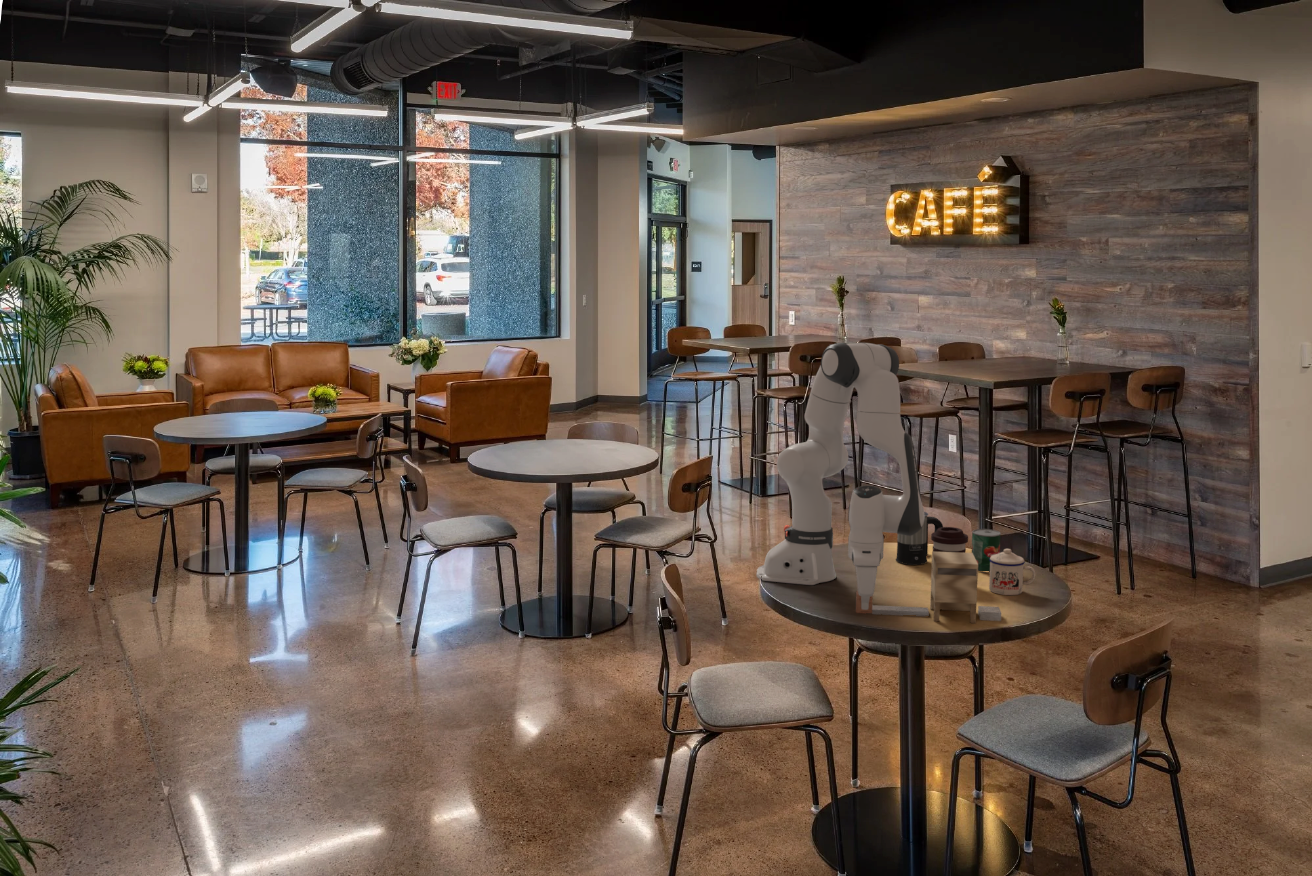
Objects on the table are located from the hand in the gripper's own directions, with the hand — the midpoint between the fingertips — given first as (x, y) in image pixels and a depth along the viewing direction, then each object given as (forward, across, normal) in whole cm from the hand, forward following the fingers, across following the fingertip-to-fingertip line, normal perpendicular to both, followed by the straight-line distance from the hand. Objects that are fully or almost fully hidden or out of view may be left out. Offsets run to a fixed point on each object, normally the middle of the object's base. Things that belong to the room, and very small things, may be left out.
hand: (864, 603), depth 281 cm
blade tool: (+2, 0, +7) cm, 7 cm away
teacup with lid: (+2, -24, +40) cm, 46 cm away
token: (+2, 0, +31) cm, 31 cm away
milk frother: (+2, -55, +16) cm, 57 cm away
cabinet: (+2, 0, +22) cm, 22 cm away
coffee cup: (+2, -30, +24) cm, 39 cm away
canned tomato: (+2, -46, +36) cm, 58 cm away
